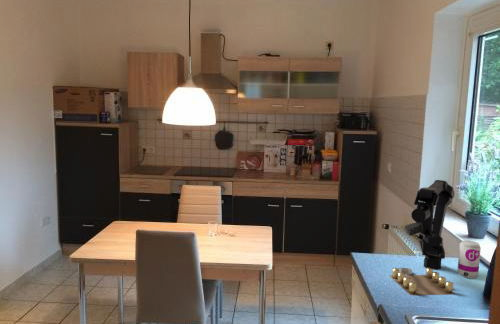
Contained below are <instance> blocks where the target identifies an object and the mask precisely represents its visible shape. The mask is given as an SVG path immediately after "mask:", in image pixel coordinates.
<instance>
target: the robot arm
mask: <svg viewBox="0 0 500 324" xmlns="http://www.w3.org/2000/svg"><path fill="white" fill-rule="evenodd" d="M454 198H455V190H454V187H453V186H451V185H450V184H449V183H448V181H447V180H441V179H434V182H432V183H431V184H430V185H429V186H428V187H421V188H420V189H418V191H417V193H416V197H415V200H414V204H413V205H415V206H416V208H414V209H413V210H412V211H411V218H412V219H411V220H413V221H414V223H413V222H412V223H409V224H406V225H404V230H405V233H406V235H409V236H410V237H411V236H412V237H413V236H414V237H416V239H418V241H419V245H420V246H419V247H420V250H421V253H422V256H424V258H423V267H424V268H425V269H426V268H432V269H433V271H436V270H440V269H441V268H442V260H443V259H444V260H445V259H446V252H445V248H444V242H443V241H444V239H443V237H442V234H443V233H442V232H443V227H444V222H445V217H446V212H447V209H448V207H449V205H451V204H452V202H453V199H454Z"/></svg>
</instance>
